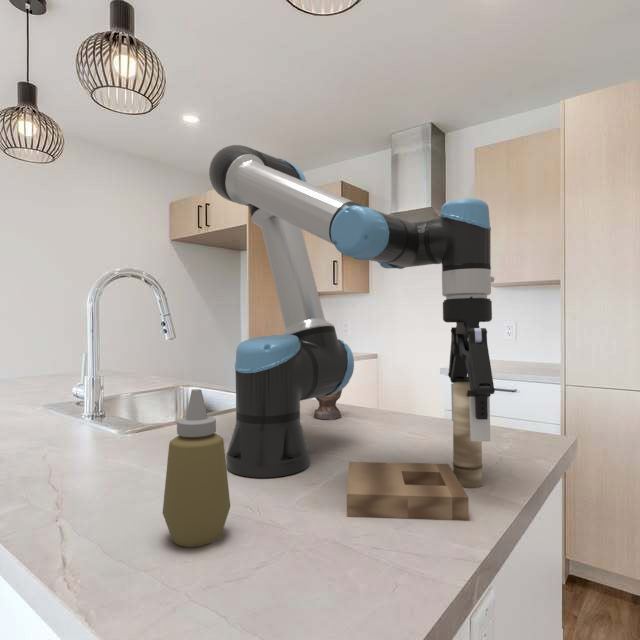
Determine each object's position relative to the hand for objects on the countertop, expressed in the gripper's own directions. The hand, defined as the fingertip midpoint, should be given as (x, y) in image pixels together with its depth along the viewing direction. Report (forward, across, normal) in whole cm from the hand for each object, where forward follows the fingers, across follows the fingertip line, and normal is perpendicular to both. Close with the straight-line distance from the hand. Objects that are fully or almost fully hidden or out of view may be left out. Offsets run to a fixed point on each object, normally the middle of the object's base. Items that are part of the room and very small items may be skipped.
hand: (469, 430), depth 74 cm
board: (+8, -7, +11) cm, 16 cm away
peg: (+9, 0, 0) cm, 9 cm away
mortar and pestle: (+8, +49, +28) cm, 57 cm away
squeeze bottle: (+8, -21, +38) cm, 44 cm away
